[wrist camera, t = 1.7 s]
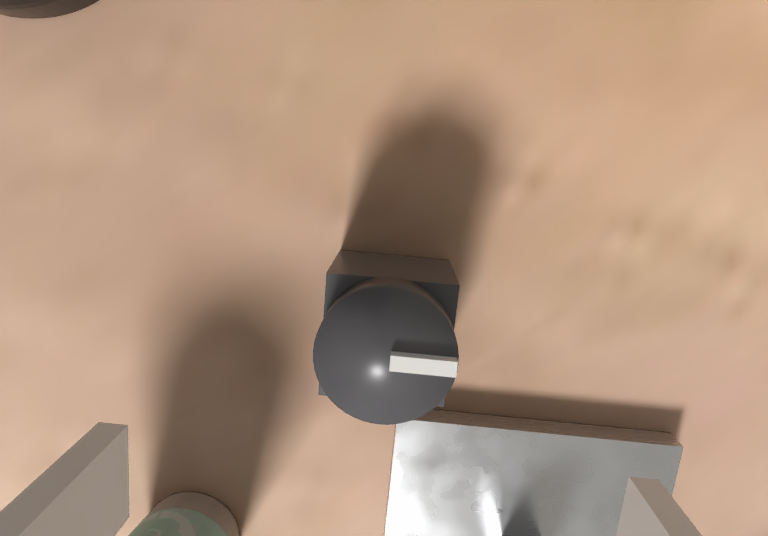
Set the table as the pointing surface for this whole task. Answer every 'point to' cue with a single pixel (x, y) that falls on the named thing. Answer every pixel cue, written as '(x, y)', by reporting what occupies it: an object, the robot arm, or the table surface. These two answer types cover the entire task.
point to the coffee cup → (188, 517)
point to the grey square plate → (517, 475)
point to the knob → (387, 336)
